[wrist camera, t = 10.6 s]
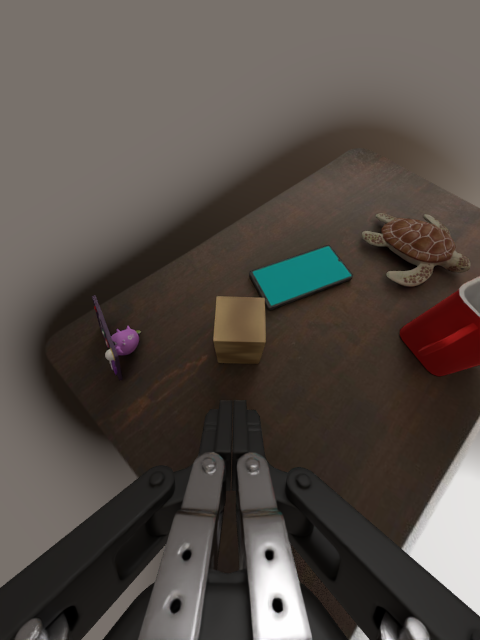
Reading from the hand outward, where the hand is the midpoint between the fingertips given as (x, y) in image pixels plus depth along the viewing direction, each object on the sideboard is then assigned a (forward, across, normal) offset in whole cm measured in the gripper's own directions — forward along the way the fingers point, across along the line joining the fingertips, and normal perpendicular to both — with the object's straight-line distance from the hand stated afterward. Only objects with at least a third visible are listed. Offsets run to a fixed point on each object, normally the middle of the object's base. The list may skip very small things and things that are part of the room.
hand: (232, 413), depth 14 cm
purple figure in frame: (+19, +15, +5) cm, 25 cm away
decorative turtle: (+32, -30, -8) cm, 44 cm away
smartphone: (+27, -10, -4) cm, 29 cm away
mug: (+19, -27, +4) cm, 33 cm away
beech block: (+19, -1, +4) cm, 20 cm away
